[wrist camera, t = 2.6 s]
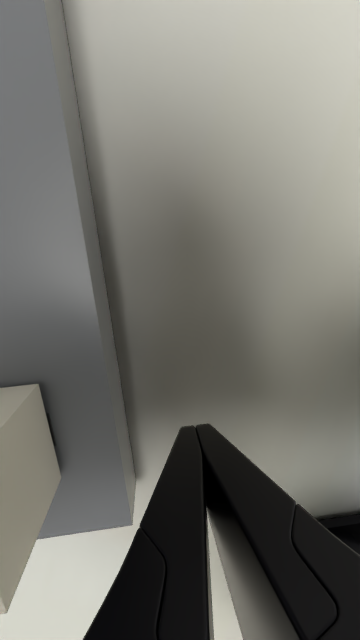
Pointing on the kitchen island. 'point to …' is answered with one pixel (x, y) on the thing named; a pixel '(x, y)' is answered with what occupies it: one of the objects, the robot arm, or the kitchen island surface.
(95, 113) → the kitchen island surface
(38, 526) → the cream cube
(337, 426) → the kitchen island surface
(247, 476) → the robot arm
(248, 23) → the kitchen island surface
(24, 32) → the switch panel
